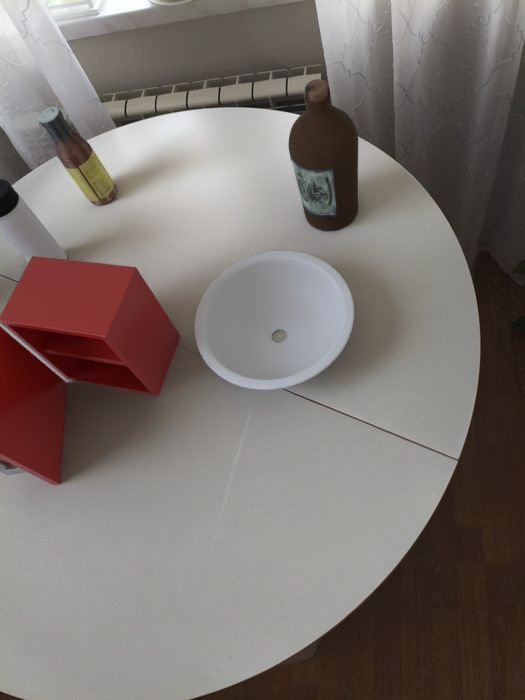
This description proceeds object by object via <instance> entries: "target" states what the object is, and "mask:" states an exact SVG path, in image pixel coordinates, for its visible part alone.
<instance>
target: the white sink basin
mask: <svg viewBox="0 0 525 700" xmlns="http://www.w3.org/2000/svg"><path fill="white" fill-rule="evenodd" d="M354 322H355V304H354V299H353V295H352V292H351V290H350V287H349V286H348V283H347V282H346V280H345V279H344V278H343V276H342V274H340V273H339V272H338V270H336V269H335V268H334V267H333V266H331V264H329V263H327V262H326V261H324V260H322V259H321V258H319V257H317V256H315V255H311V254H309V253H305V252H301V251H295V250H271V251H265V252H261V253H257V254H254V255H251V256H248V257H246V258H243V259H241V260H239V261H237V262H235V263H234V264H232V265H230V266H229V267H227V268H226V269H225V270H223V271H222V272H221V273H220V274H219V275H218V276H217V277H215V279H214V280H213V281H212V282H211V283H210V285H209V286H208V287H207V288H206V290H205V292H204V293H203V294H202V296H201V298H200V301H199V303H198V306H197V308H196V312H195V318H194V325H193V326H194V327H193V329H194V338H195V342H196V343H195V344H196V346H197V349H198V351H199V354H200V356H201V358H202V359H203V361H204V363H205V364H206V365H207V366H208V367H209V368H210V369H211V371H213V372H214V373H215V374H216V375H217V376H219V377H221V378H222V379H224V380H225V381H226V382H229V383H231V384H234V385H236V386H238V387H242V388H245V389H250V390H258V391H274V390H275V391H276V390H282V389H288V388H291V387H294V386H298V385H300V384H302V383H305V382H307V381H309V380H312V379H313V378H314V377H316V376H318V375H319V374H321V373H322V372H323V371H325V370H326V369H327V368H328V367H330V365H332V364H333V363H334V362H335V361H336V360H337V358H338V357H339V356H340V355H341V353H342V352H343V350H344V348H345V347H346V345H347V343H348V341H349V339H350V337H351V334H352V331H353V328H354ZM277 331H283V332H285V334H286V338H285V339H284V340H283V341H280V342H276V341H274V339H273V335H274V333H276V332H277Z"/></svg>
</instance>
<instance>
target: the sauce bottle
mask: <svg viewBox="0 0 525 700" xmlns="http://www.w3.org/2000/svg"><path fill="white" fill-rule="evenodd" d="M37 120H38V122H39V124H40V125H41V127H42V128H44V129H45V130H46V132H47V133H48V134H49V136H50V138H51V140H52V149H53V151H54V154H55V156H56V157H57V158H58V160H59V161H60V163H61V164H62V166H63V168H64V169H65V170H66V172H67V173H68V174H69V176H70V177H71V179H72V180H73V181H74V183H75V184H76V185H77V187H78V188H79V190H80V191H81V192H82V194H83V195H84V197H85V198H86V199H87V200H88V201H89V202H90V203H91V204H92V205H94V206H104V205H106V204H109V203H110V202H111V201H113V199H114V198H115V197H116V195H117V186H116V184H115V183H114V180H113V178H112V176H111V175H110V174H109V172H108V171H107V169H106V167H105V166H104V164H103V163H102V161H101V159H100V158H99V156H98V155H97V153H96V152H95V151H94V150H95V149H93V147H92V146H91V144H90V143H89V142H88V141H87V140H86V139H84V138H83V137H82V136H81V135H79V134H78V132H77V131H75V130H74V129H73V128H72V127H71V125H69V124H68V122H67V120H66V118H65V117H64V114H63V112H62V111H61V110H60V108H59V107H57V106H48V107H46V108H44V109H43V110H41V112H39V114H38V117H37Z"/></svg>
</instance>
